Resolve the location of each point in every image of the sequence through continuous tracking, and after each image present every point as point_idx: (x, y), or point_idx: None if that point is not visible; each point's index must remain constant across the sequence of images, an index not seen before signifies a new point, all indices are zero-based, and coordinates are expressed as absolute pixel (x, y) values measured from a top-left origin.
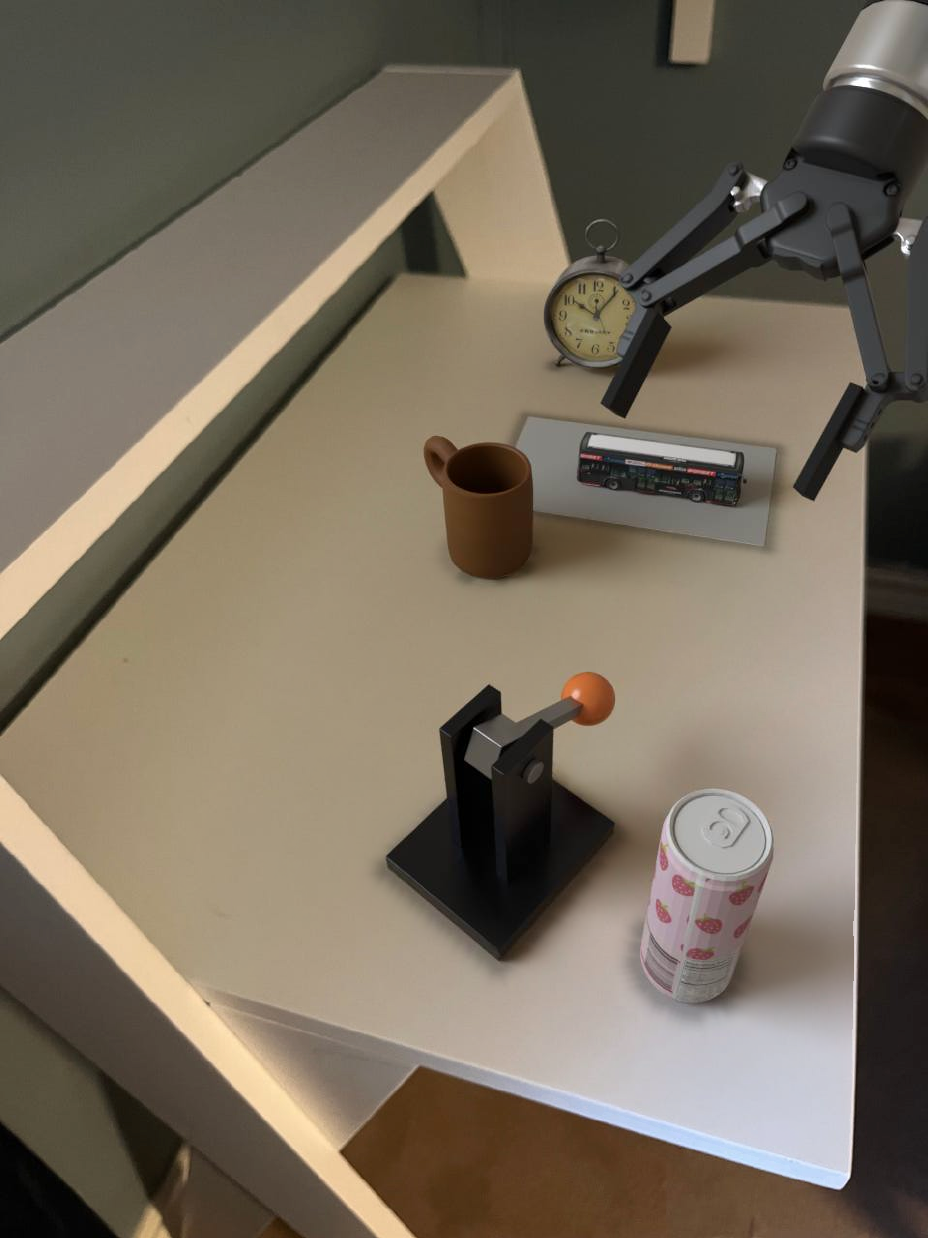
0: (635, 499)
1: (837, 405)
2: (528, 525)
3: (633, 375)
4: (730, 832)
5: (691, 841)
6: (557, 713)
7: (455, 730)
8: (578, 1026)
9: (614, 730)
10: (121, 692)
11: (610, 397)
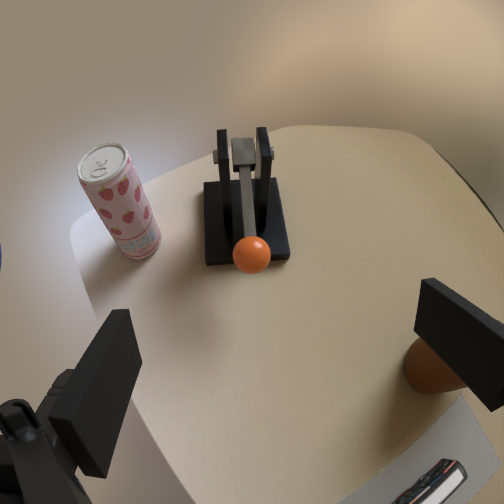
0: (402, 485)
1: (85, 385)
2: (424, 373)
3: (448, 323)
4: (97, 166)
5: (111, 151)
6: (245, 209)
7: (258, 130)
8: (162, 194)
9: (256, 319)
10: (426, 168)
11: (432, 283)
